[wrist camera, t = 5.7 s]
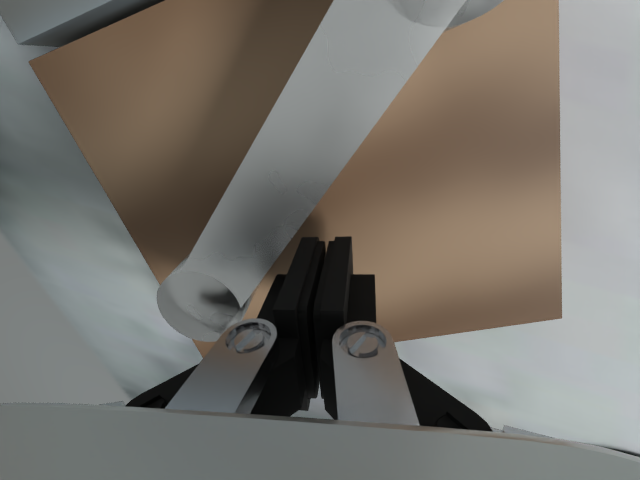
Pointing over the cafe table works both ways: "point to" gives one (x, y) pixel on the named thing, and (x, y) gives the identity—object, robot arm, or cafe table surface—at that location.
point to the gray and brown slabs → (360, 171)
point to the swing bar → (303, 151)
